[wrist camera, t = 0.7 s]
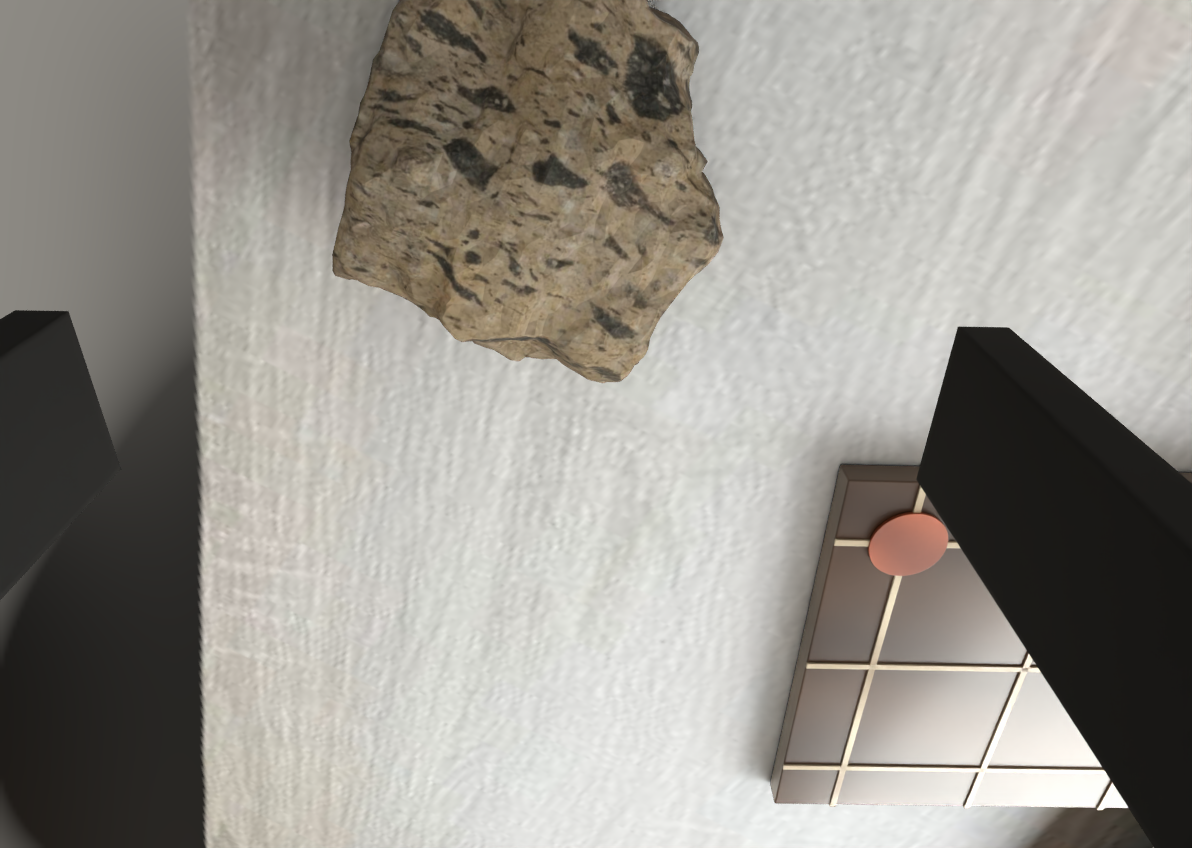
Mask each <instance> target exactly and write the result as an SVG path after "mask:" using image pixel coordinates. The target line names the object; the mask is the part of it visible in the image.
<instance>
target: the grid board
mask: <svg viewBox="0 0 1192 848" xmlns="http://www.w3.org/2000/svg"><path fill="white" fill-rule="evenodd" d="M919 467H920V466H881V465H840V469H839V473H838V478H837V482H836V487H835V491H834V496H833V500H832V505H831V510H830V514H829V519H828V523H827V528H826V532H825V537H824V541H823V546H822V550H821V555H820V560H819V564H818V569H817V573H816V578H815V582H814V587H813V591H812V596H811V600H810V605H809V610H808V614H807V619H806V623H805V628H804V632H803V637H802V641H801V646H800V650H799V655H798V660H797V664H796V669H795V673H794V678H793V682H792V687H791V691H790V696H789V700H788V705H787V710H786V714H785V719H784V723H783V728H782V732H781V737H780V741H779V746H778V750H777V755H776V760H775V764H774V769H773V773H772V778H771V782H770V785H771V789H772V794H773V798H774V802H775V803H785V804H829V805H830V806H834V807H835V806H836V804H861V805H938V806H963V807H964V808H970V806H1015V807H1092V808H1096V809H1097V810H1103V809H1104V808H1128V806H1127V805H1126V803H1125V802H1124V800H1123V799H1122V797H1121V795H1120V794H1119V792H1118V791H1117V789H1116V788H1115V786H1114V785H1113V783H1112V782H1111V780H1110V778H1109V777H1108V775H1107V774H1106V772H1105V771H1104V769H1103V768H1102V766H1101V765H1100V763H1099V761H1098V760H1097V758H1096V757H1095V755H1094V754H1093V752H1092V751H1091V749H1090V748H1089V746H1088V744H1087V743H1086V741H1085V740H1084V738H1083V737H1082V735H1081V734H1080V732H1079V731H1078V729H1077V727H1076V726H1075V724H1074V723H1073V721H1072V720H1071V718H1070V717H1069V715H1068V713H1067V712H1066V710H1065V709H1064V707H1063V706H1062V704H1061V703H1060V701H1059V700H1058V698H1057V696H1056V695H1055V693H1054V692H1053V690H1052V689H1051V687H1050V686H1049V684H1048V683H1047V681H1046V679H1045V678H1044V676H1043V675H1042V673H1041V672H1040V670H1039V669H1038V667H1037V666H1036V664H1035V662H1034V661H1033V659H1032V658H1031V656H1030V655H1029V653H1028V652H1027V650H1026V649H1025V647H1024V645H1023V644H1022V642H1021V641H1020V639H1019V638H1018V636H1017V635H1016V633H1015V632H1014V630H1013V628H1012V627H1011V625H1010V624H1009V622H1008V621H1007V619H1006V618H1005V616H1004V615H1003V613H1002V611H1001V610H1000V608H999V607H998V605H997V604H996V602H995V601H994V599H993V598H992V596H991V594H990V593H989V591H988V590H987V588H986V587H985V585H984V584H983V582H982V581H981V579H980V577H979V576H978V574H977V573H976V571H975V570H974V568H973V567H972V565H971V563H970V562H969V560H968V559H967V557H966V556H965V554H964V553H963V551H962V550H961V548H960V546H959V545H958V543H957V542H956V540H955V539H954V537H953V536H952V534H951V533H950V531H949V529H948V528H947V526H946V525H945V523H944V522H943V520H942V519H941V517H940V516H939V514H938V512H937V511H936V509H935V508H934V506H933V505H932V503H931V502H930V500H929V499H928V497H927V495H926V494H925V492H924V491H923V489H922V488H921V486H920V485H919V483H918V482H917V480H916V478H917V475H918V471H919ZM1179 473H1180V474H1181V475H1183V476H1184V477H1185V478H1186V479H1187V480H1188V481H1190V482H1191V483H1192V473H1182V472H1179Z"/></svg>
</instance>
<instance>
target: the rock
mask: <svg viewBox="0 0 1192 848" xmlns="http://www.w3.org/2000/svg"><path fill="white" fill-rule="evenodd" d="M698 53H699V46H698V42H697V41H696V40H695V39H694V38H693V37H692V36H691V35H690V34H689V32H688V31H687V30H686V29H685V27H684V26H683V25H682V24H681V23H680V22H679V21H678V20H676V19H675V18H673V17H672V16H670V15H669V14H667V13H664V12H661V11H659V10H656V9H654V8H650V7H649V6H648V2H647V0H400V1H399V3H398V4H397V5H396V7H395V8H394V9H393V11H392V14H391V18H390V21H389V24H388V27H387V30H386V33H385V36H384V39H383V42H382V45H381V48H380V51H379V52H378V54H377V55H376V56H375V58H374V59H373V63H372V68H371V73H370V78H369V82H368V86H367V89H366V92H365V95H364V97H363V99H362V101H361V103H360V108H359V113H358V117H357V120H356V122H355V125H354V128H353V132H352V135H351V138H350V141H349V142H350V147H351V171H350V175H349V179H348V183H347V188H346V194H345V206H344V210H343V214H342V218H341V221H340V225H339V228H338V232H337V237H336V241H335V246H334V250H333V254H332V256H333V272H334V274H335V276H339V277H342V278H345V279H348V280H350V279H354V280H358V281H360V282H362V283H364V284H366V285H368V286H373V287H378V288H382V289H384V290H387V291H389V292H392V293H394V294H396V295H399V296H401V297H403V298H405V299H407V300H409V301H410V302H412V303H414V304H415V305H417V306H418V307H419V308H421V309H422V310H423V311H425V312H426V313H427V314H428V315H429V316H430V317H435V318H437V319H439V320H440V321H441V323H442V325H443V326H444V327H445V328H446V329H447V330H448V331H449V332H450V333H451V335H452V336H453V337H454V338H455V339H457V340H459V341H461V342H466V341H473V342H474V343H475V344H478V345H480V346H483V347H486V348H489V349H493V350H495V351H497V352H498V353H500V354H502V355H503V356H505V357H506V358H508V359H510V360H514V361H520V360H522V359H523V358H524V357H531V358H538V359H557V360H558V361H560V362H561V363H562V364H563V365H565V366H567V367H568V368H570V369H571V370H573V371H575V372H577V373H578V374H580V375H582V376H583V377H585V378H587V379H589V380H592V381H596V382H600V383H605V382H619V381H621V380H623V379H624V378H625V377H627V375H628V374H629V373H630V372H631V370H632V368H633V367H634V365H636V364H638V363H639V360H641V359H642V358H643V357H644V355H645V354H646V352H647V350H648V346H649V341H650V337H651V335H652V333H653V331H654V329H655V326H656V324H657V323H658V321H659V319H660V317H661V316H662V315H663V313H664V312H665V311H666V310H667V308H668V307H669V306H670V304H671V303H672V302H673V300H674V299H675V298H676V297H677V295H678V294H679V293H680V291H681V290H682V289H683V288H684V286H685V285H686V284H687V283H688V281H689V280H690V279H691V278H693V277H694V276H695V275H696V274H697V273H699V272H700V271H701V270H702V269H703V268H705V267H706V266H707V265H708V264H709V263H710V262H711V260H712V259H713V258H714V256H715V255H716V254H717V253H718V251H719V248H720V246H721V243H722V241H723V234H722V231H721V225H720V220H719V205H718V203H717V200H716V198H715V196H714V192H713V189H712V187H711V185H710V183H709V181H708V179H707V178H706V176H705V174H704V173H703V172H702V170H703V169H704V167H705V165H706V163H707V160H706V158H705V157H704V156H703V154H702V153H701V151H700V150H699V149H698V148H697V147H696V145H695V141H694V133H693V121H692V115H691V112H690V111H691V108H692V100H691V97H690V92H689V79H690V76H691V75H692V73H693V69H694V64H695V61H696V58H697V56H698Z"/></svg>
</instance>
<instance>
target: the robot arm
mask: <svg viewBox="0 0 1192 848" xmlns="http://www.w3.org/2000/svg"><path fill="white" fill-rule="evenodd" d="M120 470H121V467H120V465H119V461H118V459H117V456H116V452H115V449H114V446H113V444H112V440H111V437H110V435H109V432H108V428H107V426H106V423H105V419H104V417H103V414H102V411H101V408H100V404H99V402H98V399H97V396H96V393H95V390H94V387H93V384H92V381H91V378H90V375H89V372H88V369H87V366H86V363H85V360H84V357H83V354H82V351H81V348H80V345H79V342H78V339H77V336H76V333H75V330H74V327H73V324H72V321H71V318H70V315H69V312H68V311H19V310H18V311H17V310H16V311H13V312H12V313H10V314H8V315H7V316H5V317H3V318H2V319H0V600H1V599H2V598H3V597H4V596H5V594H6V593H7V592H8V591H9V590H10V589H11V588H12V587H13V586H14V585H15V584H16V583H17V581H18V580H19V579H20V578H21V577H22V576H23V575H24V574H25V573H26V572H27V571H28V570H29V568H30V567H31V566H32V565H33V564H34V563H35V562H36V561H37V560H38V559H39V558H40V557H41V555H42V554H43V553H44V552H45V551H46V550H47V549H48V548H49V547H50V546H51V545H52V544H53V543H54V541H55V540H56V539H57V538H58V537H59V536H60V535H61V534H62V533H63V532H64V531H65V530H66V528H67V527H68V526H69V525H70V524H71V523H72V522H73V521H74V520H75V519H76V517H77V516H78V515H79V514H80V513H81V512H82V511H83V510H84V509H85V508H86V507H87V506H88V505H89V504H90V502H91V501H92V500H93V499H94V498H95V497H96V496H97V495H98V494H99V493H100V492H101V491H102V489H103V488H104V487H105V486H106V485H107V484H108V483H109V481H111V480H112V479H113V478H114V476H115V475H116V474H117V473H118V472H119V471H120ZM916 480H917V482H918V483H919V485H920V486H921V488H922V489H923V491H924V492H925V494H926V495H927V497H928V499H929V500H930V502H931V503H932V505H933V506H934V508H935V509H936V511H937V512H938V514H939V516H940V517H941V519H942V520H943V522H944V523H945V525H946V526H947V528H948V529H949V531H950V533H951V534H952V536H953V537H954V539H955V540H956V542H957V543H958V545H959V546H960V548H961V550H962V551H963V553H964V554H965V556H966V557H967V559H968V560H969V562H970V563H971V565H972V567H973V568H974V570H975V571H976V573H977V574H978V576H979V577H980V579H981V581H982V582H983V584H984V585H985V587H986V588H987V590H988V591H989V593H990V594H991V596H992V598H993V599H994V601H995V602H996V604H997V605H998V607H999V608H1000V610H1001V611H1002V613H1003V615H1004V616H1005V618H1006V619H1007V621H1008V622H1009V624H1010V625H1011V627H1012V628H1013V630H1014V632H1015V633H1016V635H1017V636H1018V638H1019V639H1020V641H1021V642H1022V644H1023V645H1024V647H1025V649H1026V650H1027V652H1028V653H1029V655H1030V656H1031V658H1032V659H1033V661H1034V662H1035V664H1036V666H1037V667H1038V669H1039V670H1040V672H1041V673H1042V675H1043V676H1044V678H1045V679H1046V681H1047V683H1048V684H1049V686H1050V687H1051V689H1052V690H1053V692H1054V693H1055V695H1056V696H1057V698H1058V700H1059V701H1060V703H1061V704H1062V706H1063V707H1064V709H1065V710H1066V712H1067V713H1068V715H1069V717H1070V718H1071V720H1072V721H1073V723H1074V724H1075V726H1076V727H1077V729H1078V731H1079V732H1080V734H1081V735H1082V737H1083V738H1084V740H1085V741H1086V743H1087V744H1088V746H1089V748H1090V749H1091V751H1092V752H1093V754H1094V755H1095V757H1096V758H1097V760H1098V761H1099V763H1100V765H1101V766H1102V768H1103V769H1104V771H1105V772H1106V774H1107V775H1108V777H1109V778H1110V780H1111V782H1112V783H1113V785H1114V786H1115V788H1116V789H1117V791H1118V792H1119V794H1120V795H1121V797H1122V799H1123V800H1124V802H1125V803H1126V805H1127V806H1128V808H1129V809H1130V811H1131V812H1132V814H1133V816H1134V817H1135V819H1136V820H1137V822H1138V823H1139V825H1140V826H1141V828H1142V829H1143V831H1144V833H1145V834H1146V836H1147V837H1148V839H1149V840H1150V842H1151V843H1152V845H1153V846H1154V848H1192V483H1191V482H1190V481H1188V480H1187V479H1186V478H1185V477H1184V476H1183V475H1181V474H1180V473H1179V472H1178V471H1177V470H1175V469H1174V468H1173V467H1172V466H1171V465H1170V464H1168V463H1167V462H1166V461H1165V460H1164V459H1163V458H1161V457H1160V456H1159V455H1158V454H1157V453H1155V452H1154V451H1153V450H1152V449H1151V448H1150V447H1148V446H1147V445H1146V444H1145V443H1144V442H1143V441H1141V440H1140V439H1139V438H1138V437H1137V436H1135V435H1134V434H1133V433H1132V432H1131V431H1130V430H1128V429H1127V428H1126V427H1125V426H1124V425H1123V424H1121V423H1120V422H1119V421H1118V420H1117V419H1116V418H1114V417H1113V416H1112V415H1111V414H1110V413H1108V412H1107V411H1106V410H1105V409H1104V408H1103V407H1101V406H1100V405H1099V404H1098V403H1097V402H1096V401H1094V400H1093V399H1092V398H1091V397H1090V396H1088V395H1087V394H1086V393H1085V392H1084V391H1083V390H1081V389H1080V388H1079V387H1078V386H1077V385H1076V384H1074V383H1073V382H1072V381H1071V380H1070V379H1068V378H1067V377H1066V376H1065V375H1064V374H1063V373H1061V372H1060V371H1059V370H1058V369H1057V368H1056V367H1054V366H1053V365H1052V364H1051V363H1050V362H1049V361H1047V360H1046V359H1045V358H1044V357H1043V356H1041V355H1040V354H1039V353H1038V352H1037V351H1036V350H1034V349H1033V348H1032V347H1031V346H1030V345H1029V344H1027V343H1026V342H1025V341H1024V340H1023V339H1021V338H1020V337H1019V336H1018V335H1017V334H1016V333H1014V332H1013V331H1012V330H1011V329H1010V328H1003V327H958V329H957V333H956V336H955V340H954V344H953V347H952V351H951V354H950V358H949V362H948V365H947V369H946V373H945V376H944V380H943V384H942V387H941V391H940V394H939V398H938V402H937V405H936V409H935V413H934V416H933V420H932V424H931V427H930V431H929V434H928V438H927V442H926V445H925V449H924V453H923V456H922V460H921V464H920V467H919V471H918V475H917V478H916Z"/></svg>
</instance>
